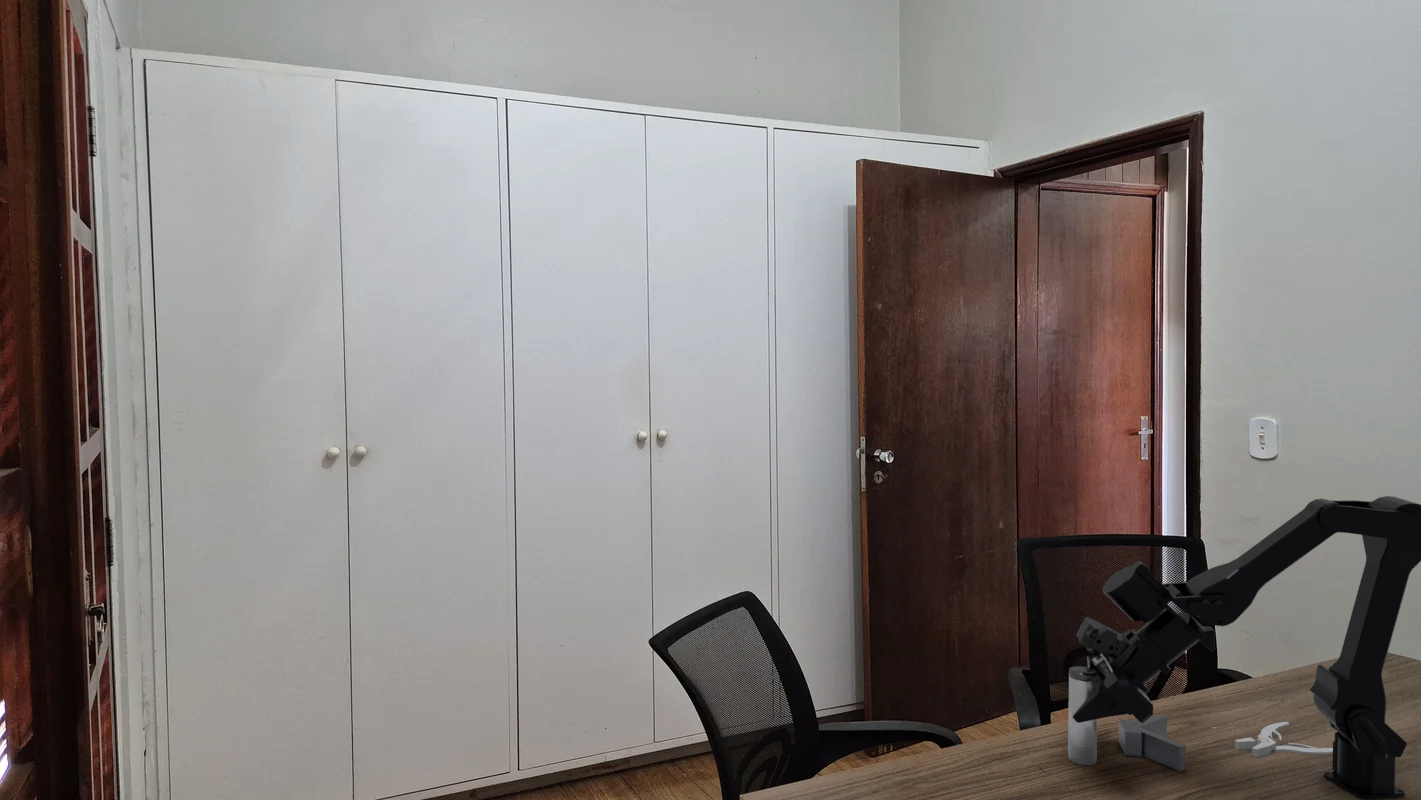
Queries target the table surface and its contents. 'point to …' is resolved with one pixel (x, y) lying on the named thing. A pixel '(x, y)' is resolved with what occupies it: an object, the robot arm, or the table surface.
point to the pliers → (1268, 744)
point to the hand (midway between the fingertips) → (1072, 713)
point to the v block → (1151, 741)
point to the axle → (1082, 733)
